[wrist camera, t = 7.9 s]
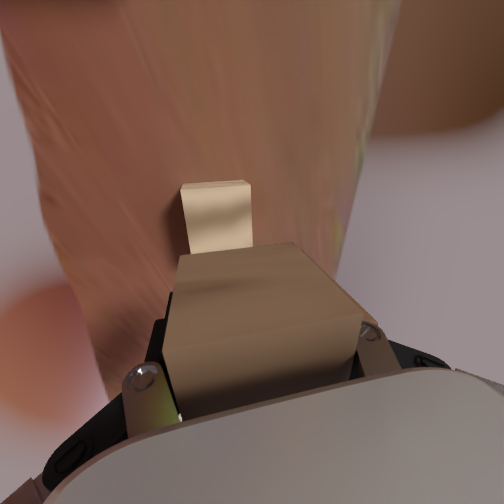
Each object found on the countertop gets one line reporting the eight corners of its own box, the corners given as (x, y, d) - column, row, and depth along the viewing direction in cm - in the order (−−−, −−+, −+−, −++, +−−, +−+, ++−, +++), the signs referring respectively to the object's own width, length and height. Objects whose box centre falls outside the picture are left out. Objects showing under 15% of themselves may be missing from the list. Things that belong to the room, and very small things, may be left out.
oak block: (245, 234, 34) (252, 247, 30) (192, 240, 33) (191, 254, 28) (243, 180, 31) (250, 185, 26) (183, 183, 29) (180, 189, 25)
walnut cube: (288, 325, 15) (338, 424, 9) (196, 342, 14) (194, 464, 8) (292, 242, 12) (364, 312, 7) (179, 255, 11) (161, 351, 6)
